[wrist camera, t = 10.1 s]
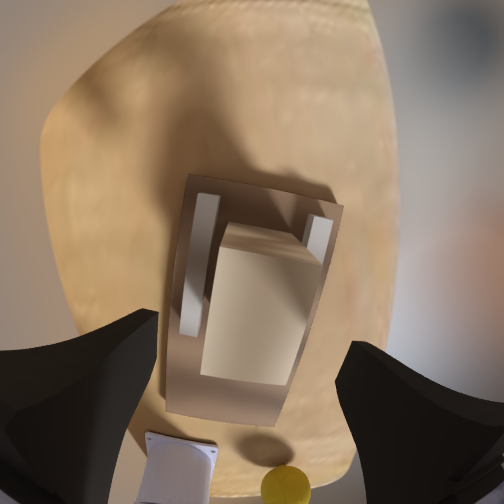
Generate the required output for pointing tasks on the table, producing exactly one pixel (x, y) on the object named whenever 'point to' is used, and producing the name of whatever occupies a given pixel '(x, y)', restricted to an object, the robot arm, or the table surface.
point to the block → (258, 305)
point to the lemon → (285, 486)
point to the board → (201, 285)
